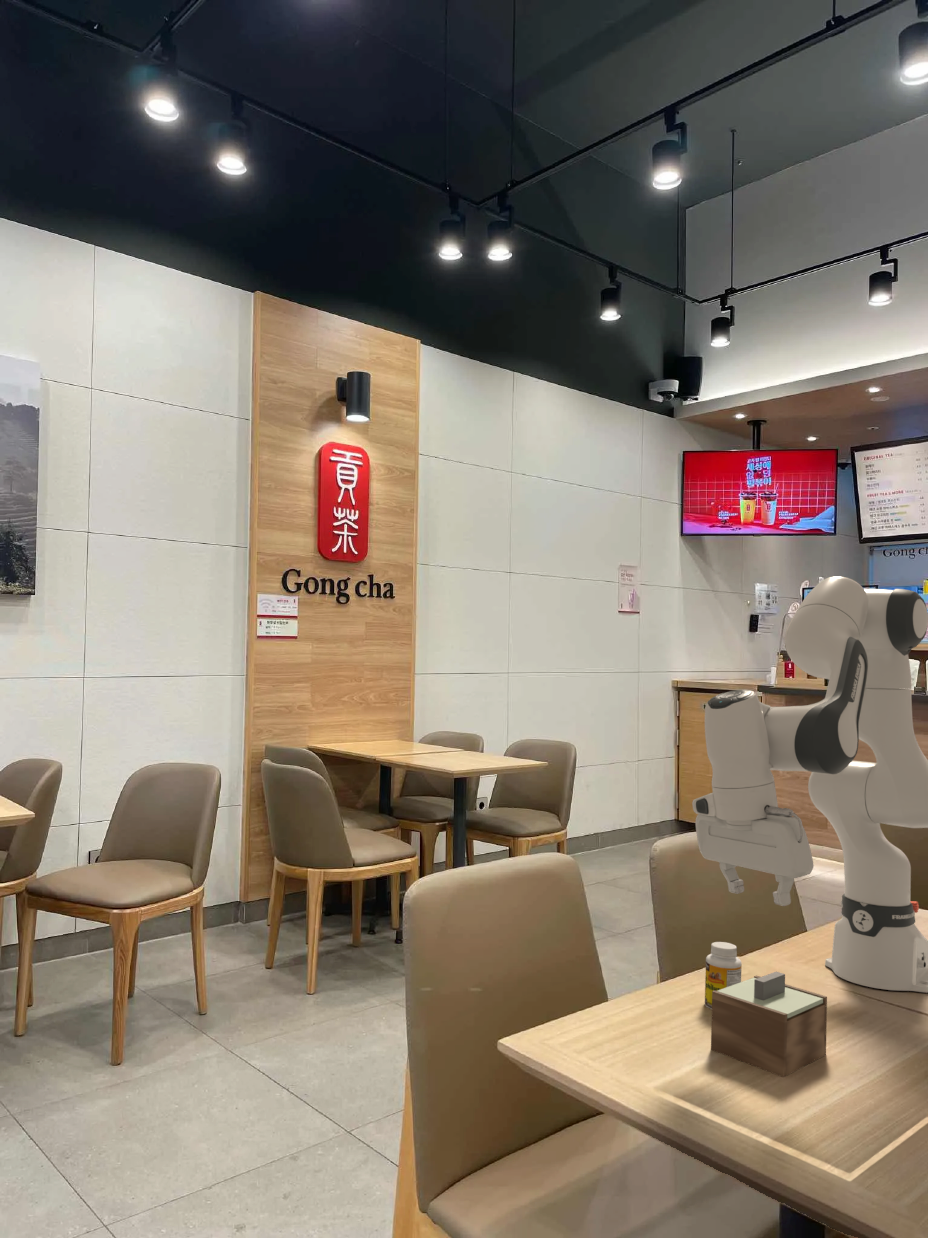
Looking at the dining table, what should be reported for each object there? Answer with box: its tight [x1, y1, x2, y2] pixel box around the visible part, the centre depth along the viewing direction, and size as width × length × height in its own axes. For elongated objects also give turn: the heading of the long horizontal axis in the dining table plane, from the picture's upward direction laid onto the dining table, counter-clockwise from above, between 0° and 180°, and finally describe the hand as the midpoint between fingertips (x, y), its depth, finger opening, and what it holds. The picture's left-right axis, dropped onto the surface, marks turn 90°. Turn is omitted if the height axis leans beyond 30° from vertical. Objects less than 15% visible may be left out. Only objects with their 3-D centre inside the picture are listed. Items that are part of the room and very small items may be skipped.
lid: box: [718, 971, 823, 1019], centre depth 129 cm, size 10×11×3 cm
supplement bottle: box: [704, 941, 743, 1010], centre depth 146 cm, size 6×6×10 cm
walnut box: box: [710, 975, 828, 1078], centre depth 128 cm, size 12×11×9 cm
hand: (759, 898), depth 132 cm, fingers open, 8 cm apart
